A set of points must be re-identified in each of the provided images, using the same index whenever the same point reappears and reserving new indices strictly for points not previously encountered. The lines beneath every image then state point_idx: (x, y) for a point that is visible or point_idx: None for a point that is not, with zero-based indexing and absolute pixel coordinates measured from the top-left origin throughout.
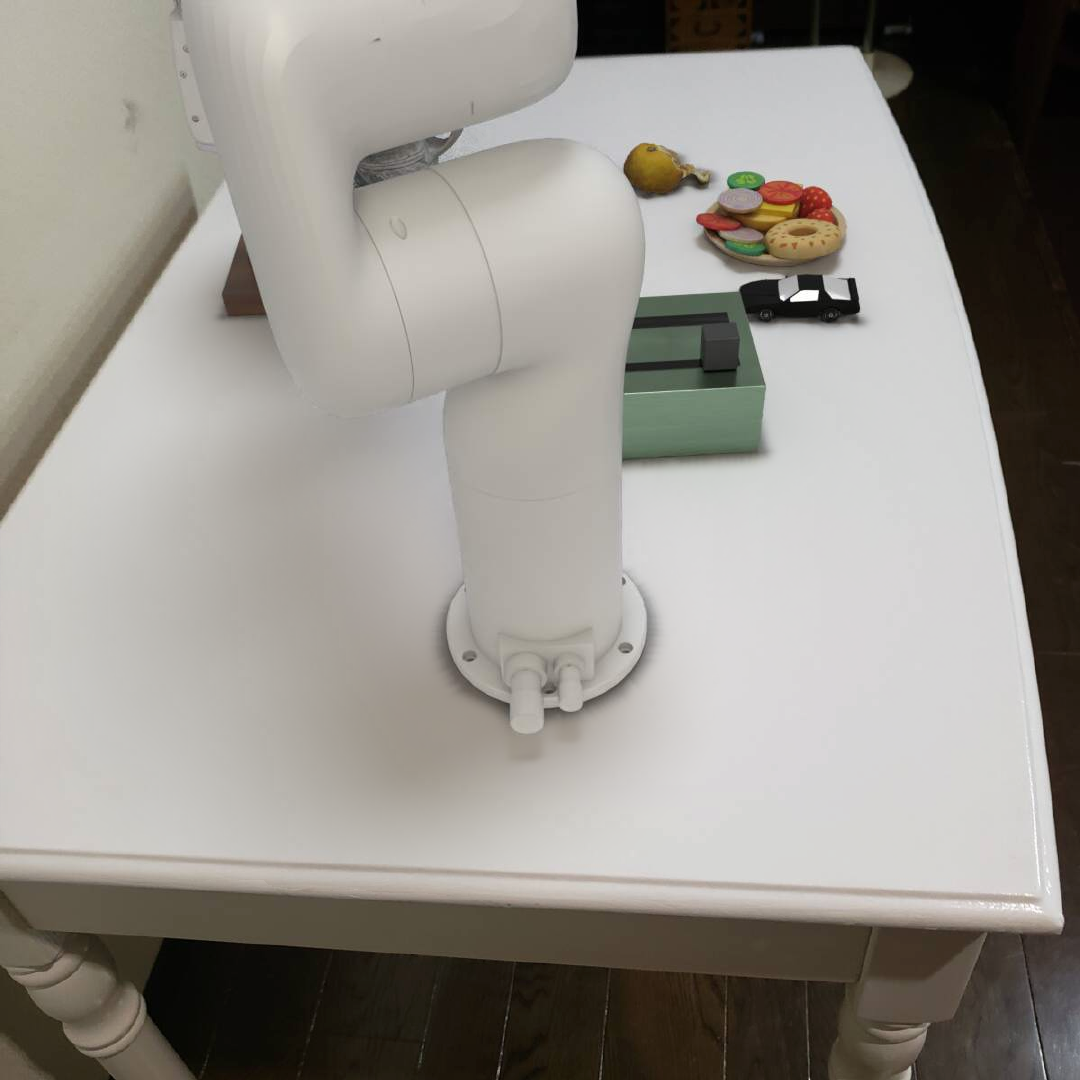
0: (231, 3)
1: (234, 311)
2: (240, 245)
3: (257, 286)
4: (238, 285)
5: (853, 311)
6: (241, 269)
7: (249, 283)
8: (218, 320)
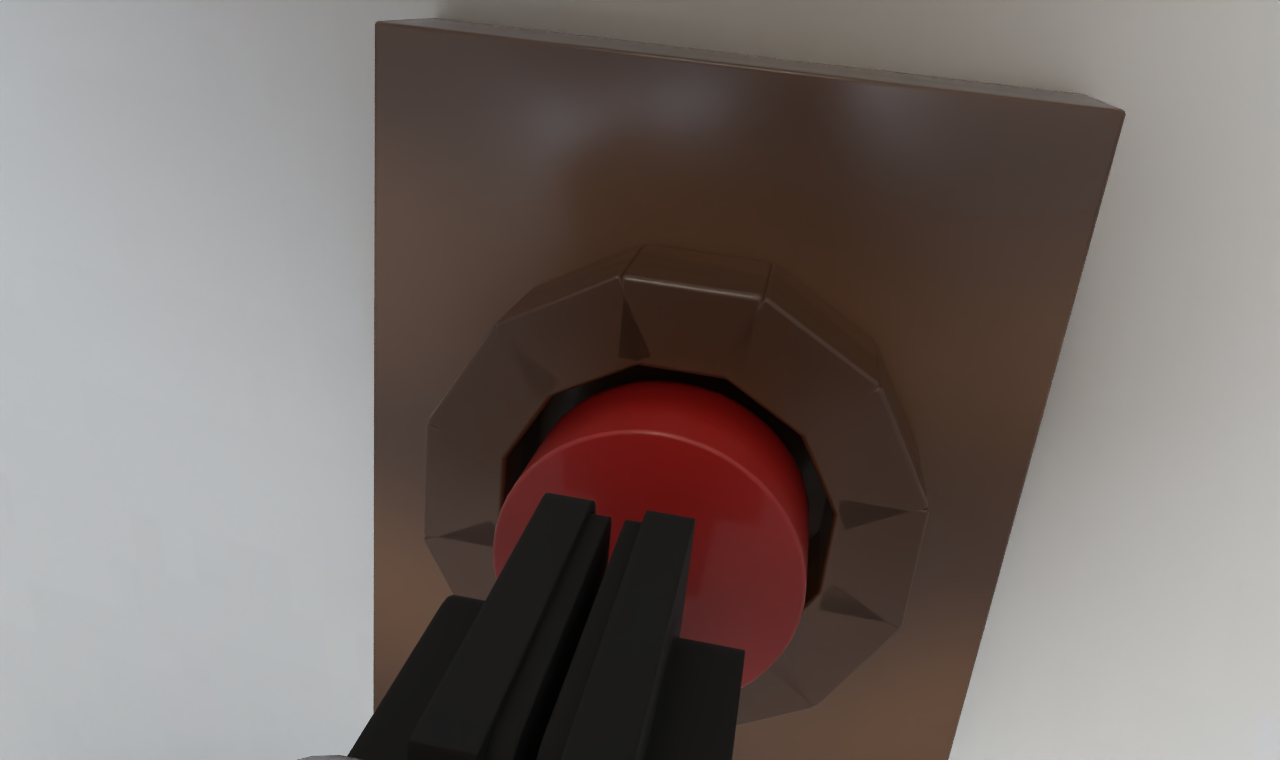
0: None
1: (1042, 90)
2: (959, 640)
3: (872, 156)
4: (999, 201)
5: None
6: (968, 383)
7: (924, 205)
8: (1149, 61)
